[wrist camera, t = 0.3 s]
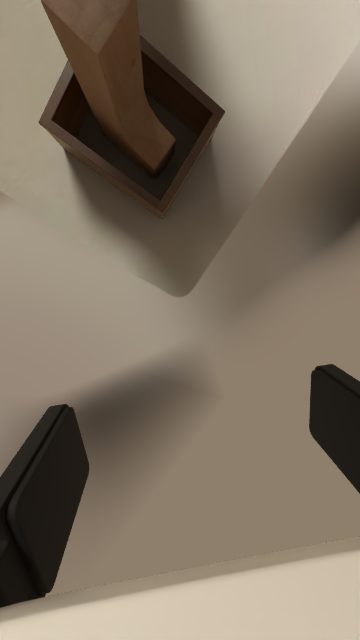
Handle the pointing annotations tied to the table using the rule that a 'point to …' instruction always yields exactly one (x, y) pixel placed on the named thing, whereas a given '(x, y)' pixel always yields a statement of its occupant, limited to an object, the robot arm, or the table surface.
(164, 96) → the wooden box
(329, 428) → the robot arm
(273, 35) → the table surface
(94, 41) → the wooden block
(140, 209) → the table surface
